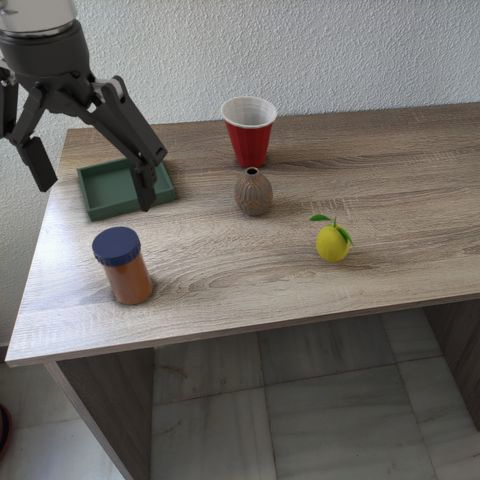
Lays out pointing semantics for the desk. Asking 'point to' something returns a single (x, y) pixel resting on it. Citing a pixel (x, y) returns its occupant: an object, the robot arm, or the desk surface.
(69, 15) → the robot arm
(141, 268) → the jam jar
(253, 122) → the plastic cup
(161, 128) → the desk surface
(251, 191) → the vase
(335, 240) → the lemon
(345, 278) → the desk surface
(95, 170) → the tray
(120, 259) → the jar lid
